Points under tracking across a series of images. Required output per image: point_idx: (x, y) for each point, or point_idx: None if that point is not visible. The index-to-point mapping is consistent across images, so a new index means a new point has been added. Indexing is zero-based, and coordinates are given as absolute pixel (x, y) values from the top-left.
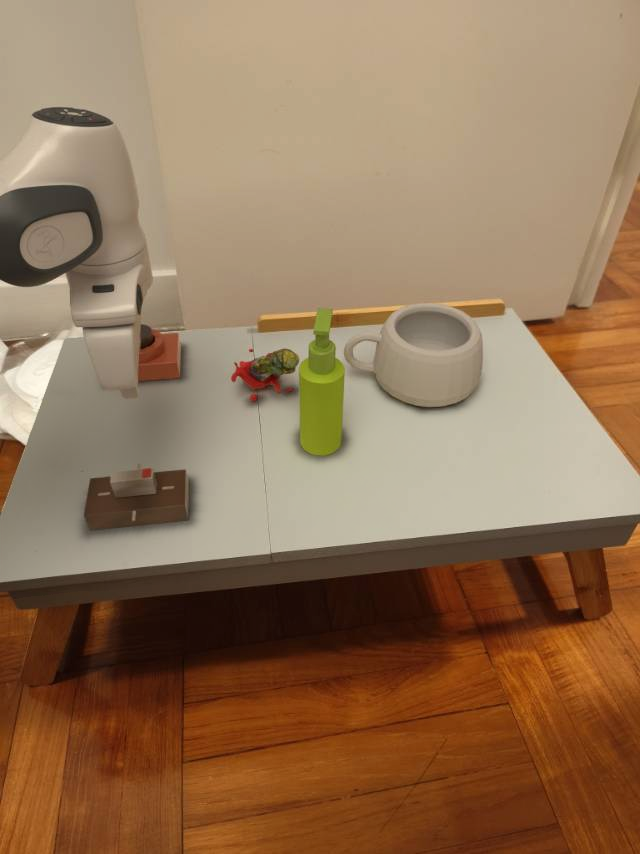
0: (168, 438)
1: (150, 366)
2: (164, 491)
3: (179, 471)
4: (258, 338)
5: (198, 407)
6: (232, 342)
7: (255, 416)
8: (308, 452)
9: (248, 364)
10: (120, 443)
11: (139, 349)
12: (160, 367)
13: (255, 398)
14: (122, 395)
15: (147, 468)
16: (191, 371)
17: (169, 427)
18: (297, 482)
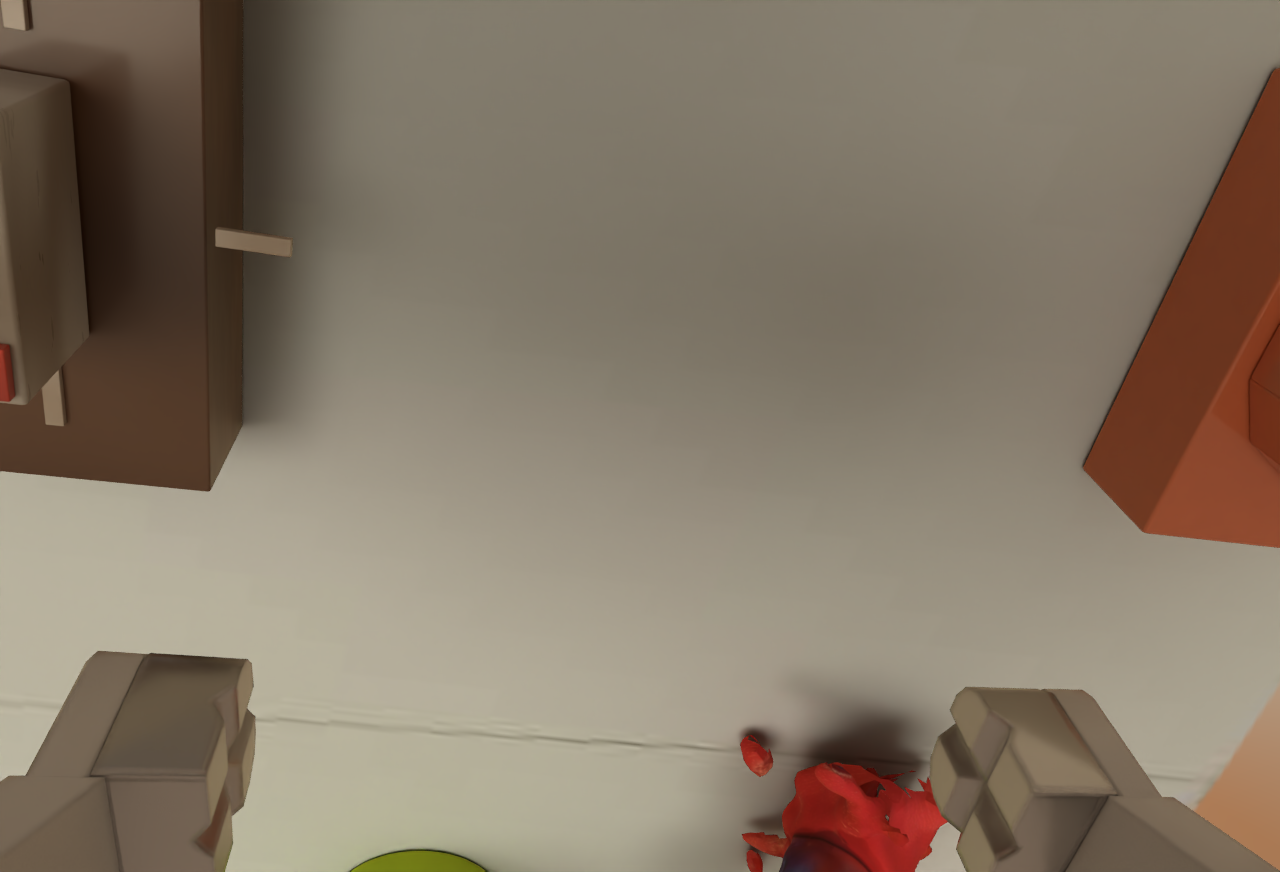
0: (625, 364)
1: (1207, 384)
2: None
3: (194, 461)
4: None
5: (809, 525)
6: (1202, 707)
7: (645, 731)
8: (358, 866)
9: (880, 866)
10: (676, 92)
11: (932, 776)
12: (1171, 429)
13: (744, 760)
14: (82, 674)
15: (5, 381)
16: (1102, 523)
17: (712, 378)
18: None
